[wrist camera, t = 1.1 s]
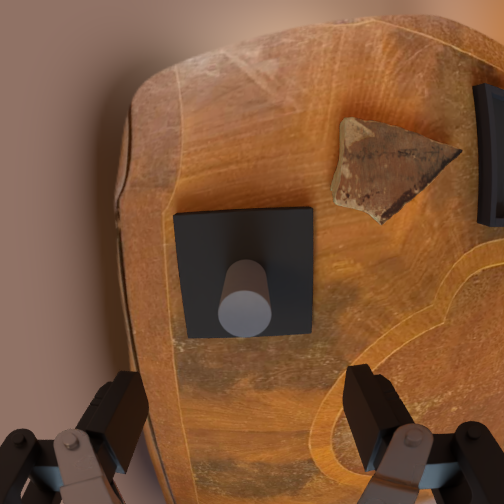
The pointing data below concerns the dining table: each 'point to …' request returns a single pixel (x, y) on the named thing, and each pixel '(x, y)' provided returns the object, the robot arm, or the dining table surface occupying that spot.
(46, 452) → the robot arm
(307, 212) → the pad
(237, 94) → the dining table surface
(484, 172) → the base pad
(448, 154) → the shard
